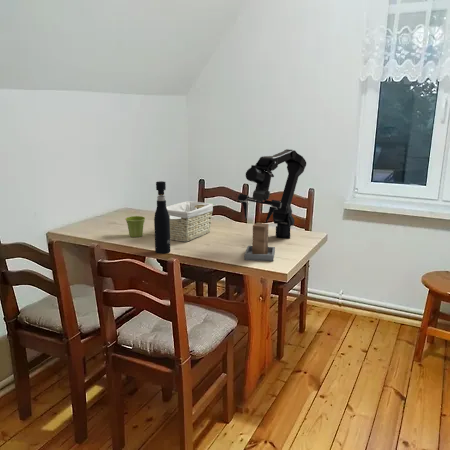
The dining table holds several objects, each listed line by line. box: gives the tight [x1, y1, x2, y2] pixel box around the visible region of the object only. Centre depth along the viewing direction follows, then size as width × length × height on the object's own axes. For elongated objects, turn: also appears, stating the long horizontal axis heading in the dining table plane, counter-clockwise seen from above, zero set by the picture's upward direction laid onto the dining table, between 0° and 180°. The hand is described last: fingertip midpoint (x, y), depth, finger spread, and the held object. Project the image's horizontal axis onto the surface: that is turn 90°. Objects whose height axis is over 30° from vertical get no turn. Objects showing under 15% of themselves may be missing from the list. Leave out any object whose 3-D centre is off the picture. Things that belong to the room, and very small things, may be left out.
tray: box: [244, 245, 276, 262], centre depth 188 cm, size 12×12×2 cm
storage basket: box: [166, 200, 214, 243], centre depth 217 cm, size 24×16×15 cm
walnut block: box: [251, 222, 269, 254], centre depth 186 cm, size 5×5×13 cm
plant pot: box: [124, 215, 146, 238], centre depth 217 cm, size 9×9×9 cm
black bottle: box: [153, 180, 171, 255], centre depth 190 cm, size 6×6×30 cm
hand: (255, 220), depth 197 cm, fingers open, 9 cm apart
